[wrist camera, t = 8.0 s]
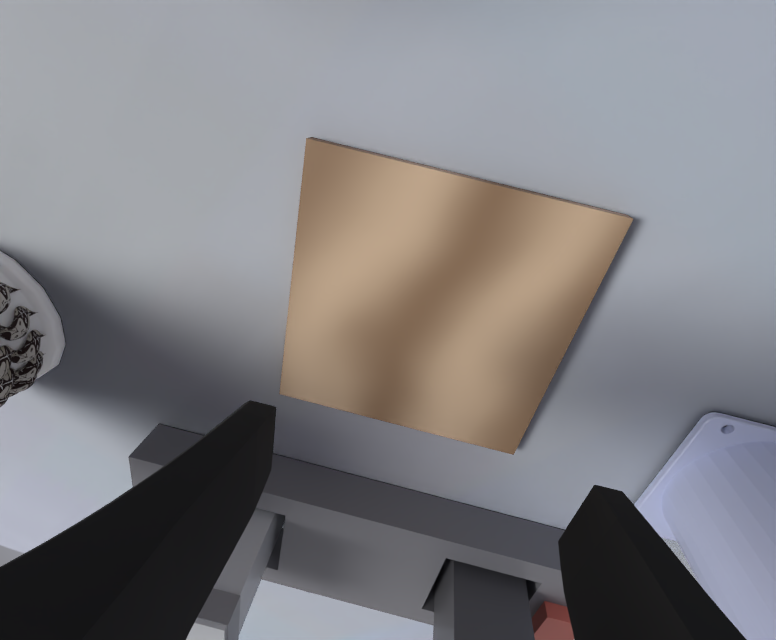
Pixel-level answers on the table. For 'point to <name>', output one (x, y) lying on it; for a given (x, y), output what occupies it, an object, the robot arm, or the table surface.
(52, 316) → the decorative candle
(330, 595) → the power strip
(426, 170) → the cork mat
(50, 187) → the table surface
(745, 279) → the table surface
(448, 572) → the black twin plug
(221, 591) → the grey plug
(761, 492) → the robot arm
